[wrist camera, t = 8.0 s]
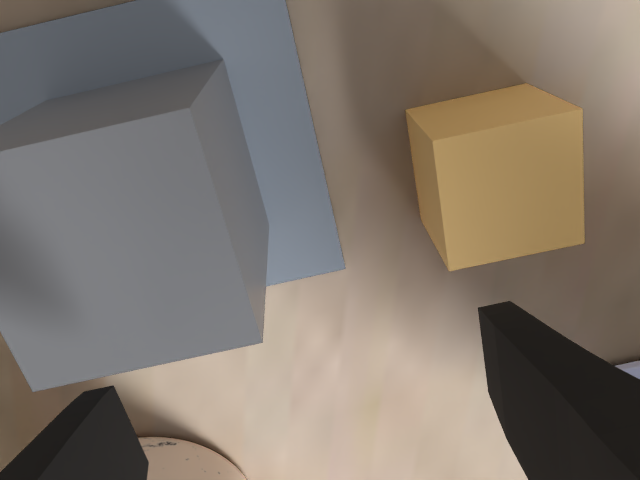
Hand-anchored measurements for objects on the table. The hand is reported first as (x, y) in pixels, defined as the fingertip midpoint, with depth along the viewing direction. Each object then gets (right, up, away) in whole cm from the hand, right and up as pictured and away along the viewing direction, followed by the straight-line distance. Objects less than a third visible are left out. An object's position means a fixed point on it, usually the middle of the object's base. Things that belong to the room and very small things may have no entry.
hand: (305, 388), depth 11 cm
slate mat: (-5, +5, +8) cm, 11 cm away
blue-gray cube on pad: (-5, +5, +8) cm, 10 cm away
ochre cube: (+5, +6, +9) cm, 12 cm away
